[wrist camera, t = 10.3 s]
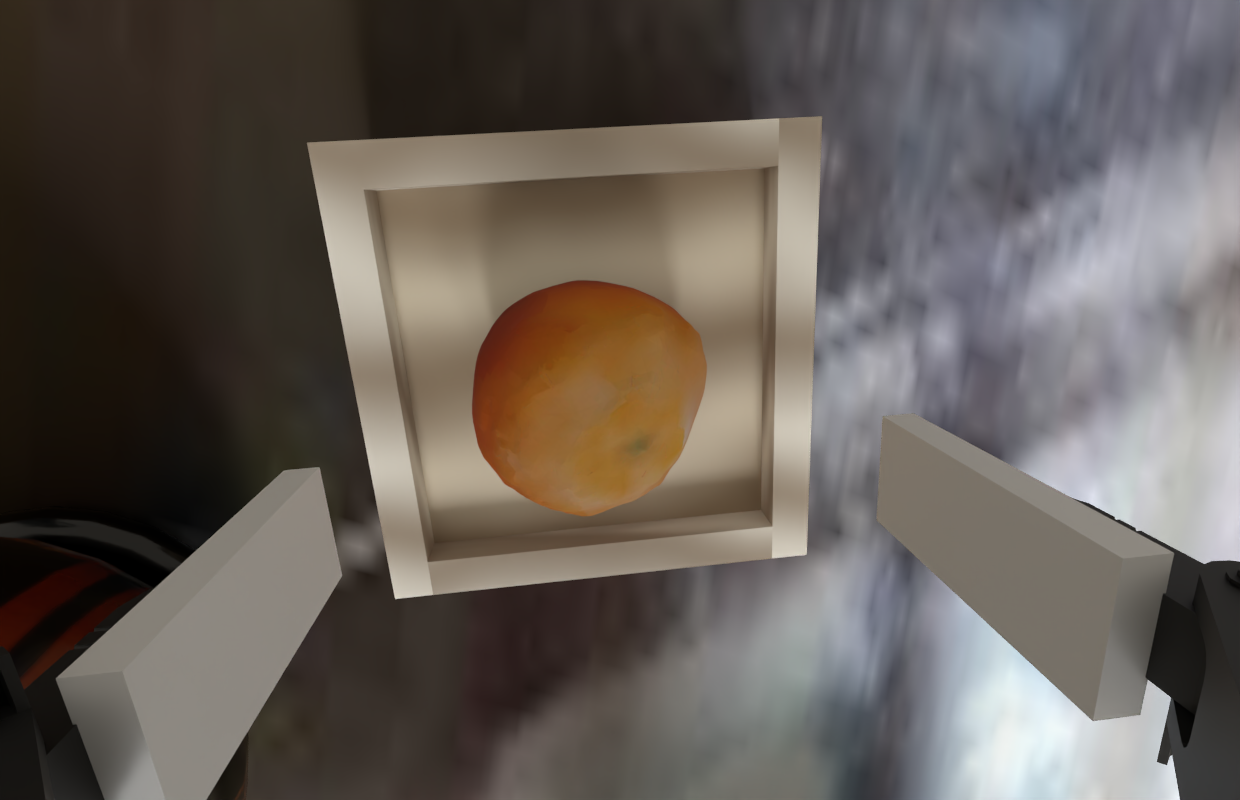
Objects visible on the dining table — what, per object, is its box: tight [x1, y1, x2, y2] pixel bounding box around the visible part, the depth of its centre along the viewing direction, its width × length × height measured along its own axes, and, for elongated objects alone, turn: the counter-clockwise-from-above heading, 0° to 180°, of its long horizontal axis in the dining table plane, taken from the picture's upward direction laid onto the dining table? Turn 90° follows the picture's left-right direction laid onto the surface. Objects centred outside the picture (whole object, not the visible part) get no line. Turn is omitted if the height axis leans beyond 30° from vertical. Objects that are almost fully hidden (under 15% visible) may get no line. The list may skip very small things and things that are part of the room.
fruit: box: [472, 280, 707, 516], centre depth 22 cm, size 8×8×8 cm
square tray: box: [307, 116, 822, 599], centre depth 27 cm, size 17×17×8 cm
